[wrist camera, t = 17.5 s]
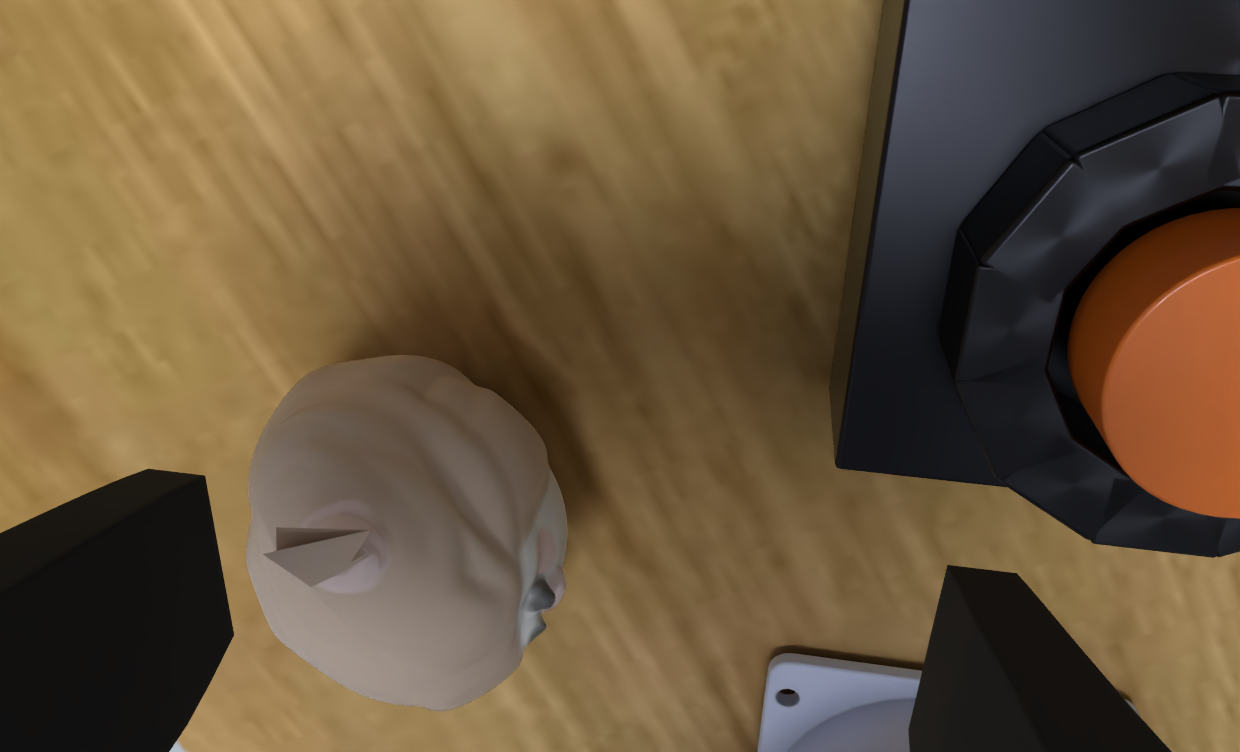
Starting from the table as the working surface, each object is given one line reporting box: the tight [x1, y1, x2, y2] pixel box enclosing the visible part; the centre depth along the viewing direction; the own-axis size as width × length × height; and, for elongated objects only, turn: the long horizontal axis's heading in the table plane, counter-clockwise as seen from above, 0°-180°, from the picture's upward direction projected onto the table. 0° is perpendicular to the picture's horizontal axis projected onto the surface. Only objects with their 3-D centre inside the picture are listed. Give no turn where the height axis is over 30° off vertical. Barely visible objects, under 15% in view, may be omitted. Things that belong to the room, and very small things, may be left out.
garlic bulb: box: [246, 355, 567, 711], centre depth 18 cm, size 7×6×8 cm
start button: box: [1067, 208, 1240, 519], centre depth 12 cm, size 4×4×2 cm
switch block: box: [829, 0, 1240, 558], centre depth 14 cm, size 14×9×5 cm, turn 178°
